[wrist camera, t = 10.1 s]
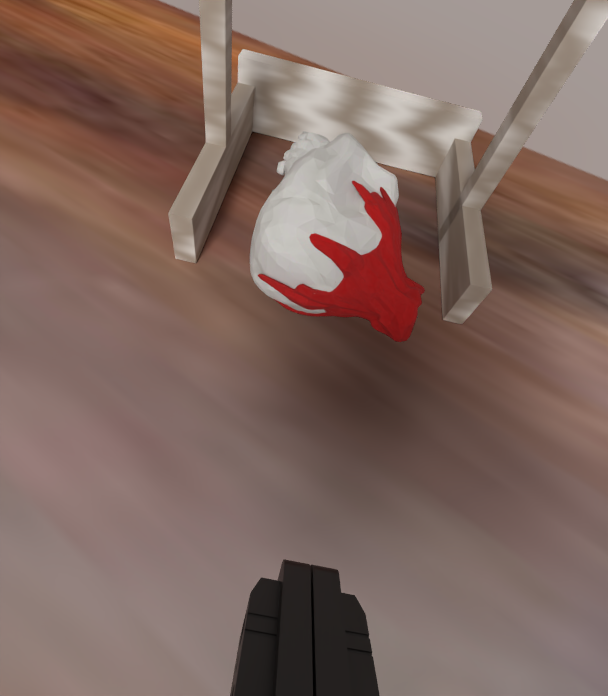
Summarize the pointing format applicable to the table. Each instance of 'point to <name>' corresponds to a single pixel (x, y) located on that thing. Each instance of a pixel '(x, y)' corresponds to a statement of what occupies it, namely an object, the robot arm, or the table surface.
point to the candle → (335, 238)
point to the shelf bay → (370, 137)
